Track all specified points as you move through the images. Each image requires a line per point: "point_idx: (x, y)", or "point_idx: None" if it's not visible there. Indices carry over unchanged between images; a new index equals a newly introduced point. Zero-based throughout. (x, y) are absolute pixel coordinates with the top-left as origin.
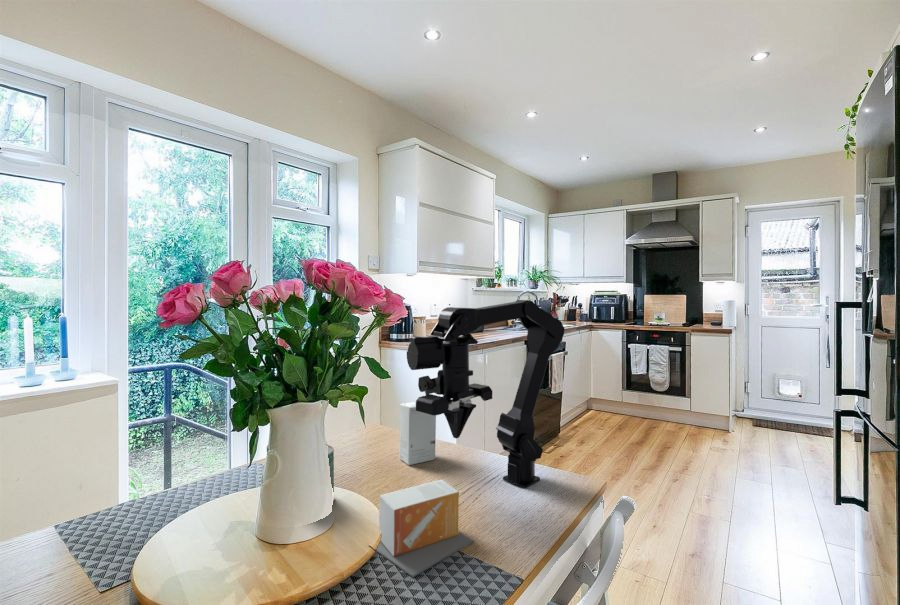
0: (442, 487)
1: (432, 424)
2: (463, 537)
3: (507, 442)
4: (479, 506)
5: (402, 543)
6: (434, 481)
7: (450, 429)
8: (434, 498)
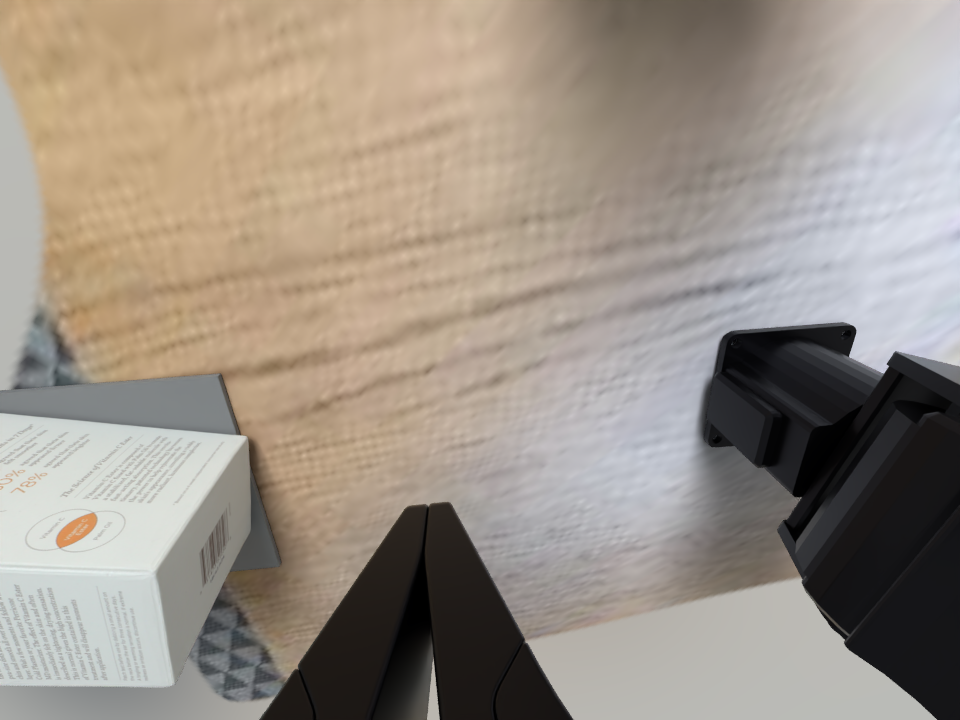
0: (107, 640)
1: None
2: (259, 544)
3: (840, 533)
4: (453, 433)
5: None
6: (93, 579)
7: (358, 577)
8: (19, 685)
